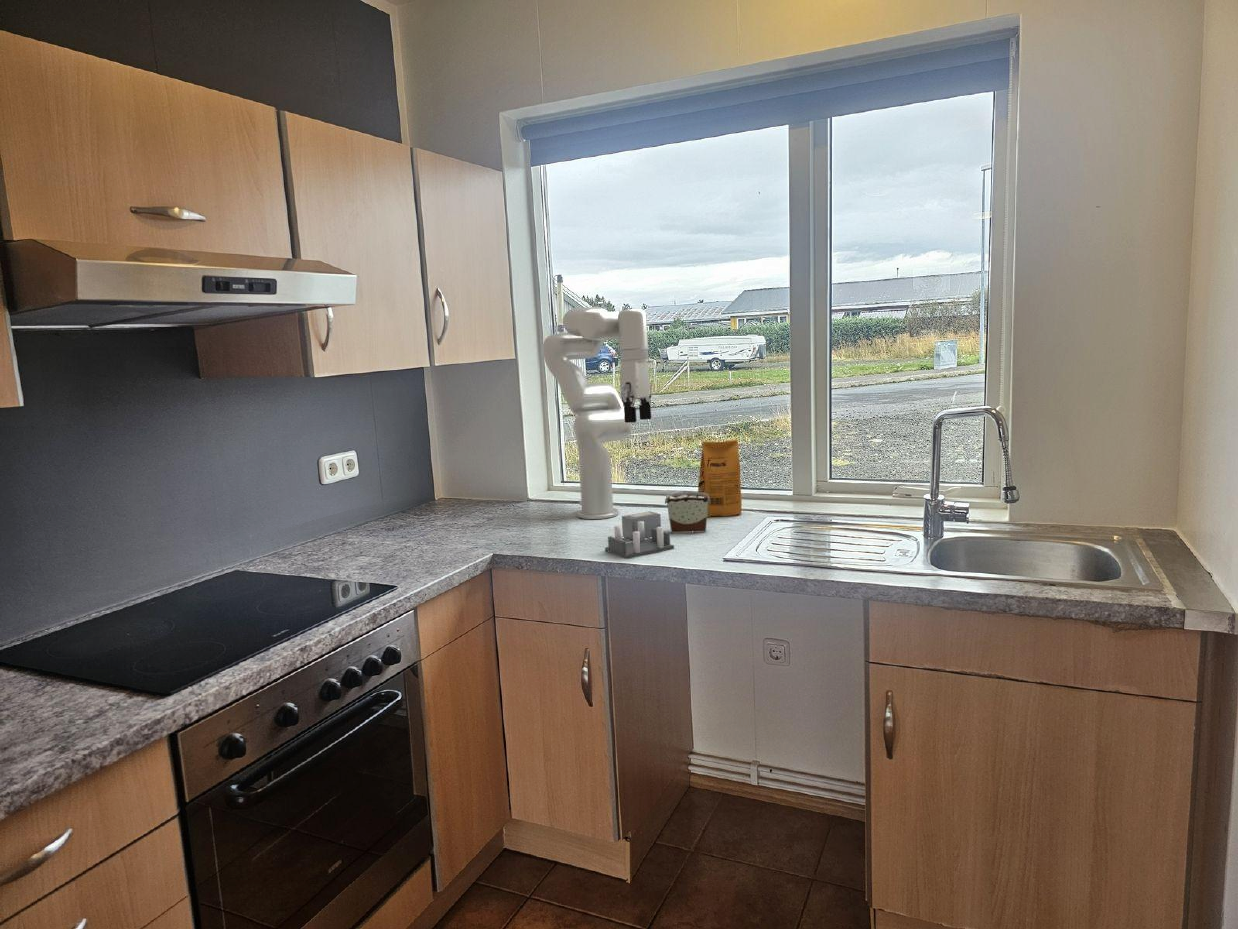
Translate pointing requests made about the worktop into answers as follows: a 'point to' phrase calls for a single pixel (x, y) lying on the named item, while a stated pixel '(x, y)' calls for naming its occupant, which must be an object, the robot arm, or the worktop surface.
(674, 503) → the food container
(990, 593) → the worktop surface
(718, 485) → the coffee package
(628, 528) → the block
